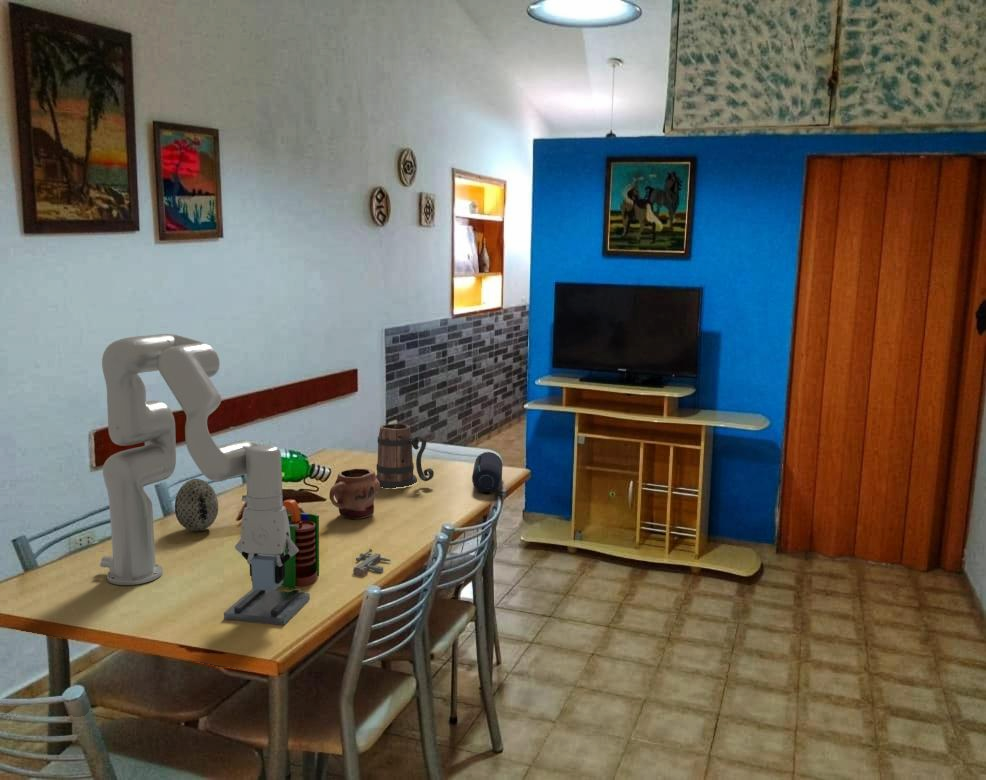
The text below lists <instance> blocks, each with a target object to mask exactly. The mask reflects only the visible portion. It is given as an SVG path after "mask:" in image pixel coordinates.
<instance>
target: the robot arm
mask: <svg viewBox="0 0 986 780" xmlns="http://www.w3.org/2000/svg"><path fill="white" fill-rule="evenodd" d="M220 365H221V364H220V358H219V356H218V353H217V351H216V350H215V348H213V347H212V346H211V345H209V344H208V343H206V342H203V341H201V340H200V341H199V340H196V339H193V338H188V337H185V336H182V335H178V334H172V333H161V334H158V333H157V334H149V335H140V336H139V335H136V336H130V337H124V338H120V339H118V340H114V341H113V342H112V343H110V344H109V345H107V347H105V350H104V352H103V354H102V358H101V368H102V373H103V377H104V381H105V385H106V404H107V405H106V406H107V409H106V410H107V427H108V435H109V438H110V440H111V442H112V443H113V444H115V445H117V446H121V447H122V446H123V447H125V446H132V445H137V444H142V443H144V445H142V446H138V447H132V448H129V449H125V450H121V451H118V452H116V453H114V454H112V455H110V456H109V457H108V458H107V459H106V460H105V462H103V463H104V464H103V466H102V477H103V480H104V484H105V488H106V492H107V496H108V506H109V519H110V533H111V549H112V551H111V552H112V556H108V555H107V556H105V555H104V556H103V557H101V561H100V564H99V566H100V568H108V569H109V571H108V572H107V575H106V580H107V581H108V583H110V584H112V585H118V586H135V585H140V584H146V583H149V582H152V581H155V580H157V579H158V578H160V577H161V576H162V574H163V573H164V572H163V566H162V565H159V564H158V563H156V551H155V550H156V549H155V531H154V529H155V527H154V513H153V503H152V500H151V498H150V497H149V495H147V493H146V491H145V489H144V487H147V486H149V485H153V484H155V483H159V482H162V481H164V480H168V479H169V478H170V477H171V476H172V475H173V474H174V473H175V469H176V465H177V449H176V448H177V446H176V445H177V443H176V438H177V437H176V421H175V420H176V419H175V416H174V414H173V412H172V409H171V408H170V407H169V406H168V405H167V404H166V403H165V402H162V401H159V400H148V401H147V390H146V385H145V384H144V381H143V380H142V378H141V376H140V375H139V374H142V373H143V374H144V373H149V372H159V374H160V375H161V377H162V379H163V380H164V382H165V383H166V385H167V387H168V388H169V390H170V391H171V393H172V395H173V396H174V398H175V399H176V401H177V403H178V404H179V405H180V408H181V409H182V411H183V413H185V416H186V421H185V424H184V425H185V426H184V430H185V431H184V435H185V444H186V449H187V451H188V453H189V456H191V458H192V460H193V462H194V463H195V465H196V466H197V468H198V469H199V472H201V473H202V475H203V476H205V477H206V479H208V480H209V481H212V482H215V483H216V482H223V481H227V480H231V479H233V478H237V477H239V476H244V475H245V477H246V495H244V494H243V495H242V496H241V501H242V502H245V503H246V507H244V508H243V512H242V517H241V526H240V527H241V528H240V539H239V541H238V542H237V543H236V545H234V549H235V551H237V552H238V553H239V554H241V556H242V557H243V558H244V559H245V560H246V562H247V563H246V564H248V565H249V576H250V580H251V582H252V565H251V559H252V558H253V557H255V556H256V555H257V554H264V555H274V557H275V560H276V563H277V566H276V567H275V583H276V584H279V583H280V582H281V581H282V580H283V579H284V578H285V563H286V562H287V561H288V560H289V559H290V558H291V557H292V556H293V555H295V554H296V553H297V552H298V551H299V549H298V548H297V547H296V545H295V544H294V543H293V541H292V540H291V539H290V527H289V521H288V515H289V514H288V512H287V511H288V510H286V508H285V506H283V479H282V478H283V477H282V476H283V475H282V473H283V472H282V453H281V449H280V448H279V447H278V446H275V445H271V444H260V443H258V442H256V441H252V440H248V439H243V440H241V439H240V440H237V441H234V442H229V443H226V444H221V445H217V444H216V442H215V441H214V439H213V438H212V436H211V434H210V433H211V432H210V430H209V428H208V418H209V416H210V415H212V413H214V412H215V411H216V410H217V409H218V407H220V405H221V402H222V396H221V394H220V393H219V391H218V390H217V388H216V386H215V385H214V383H213V382H212V380H211V379H210V378H211V377H214V376H215V375H216V374H217V373H218V371H219V369H220ZM285 549H289V552H288V553H287V554H286V555H285Z"/></svg>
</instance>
